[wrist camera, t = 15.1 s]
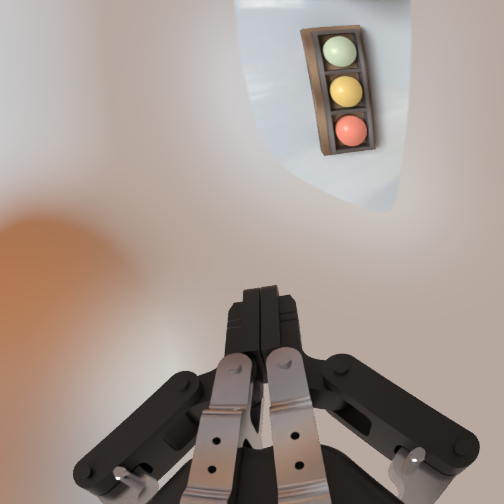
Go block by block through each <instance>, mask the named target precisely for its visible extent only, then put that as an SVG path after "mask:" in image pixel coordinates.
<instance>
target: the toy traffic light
mask: <svg viewBox="0 0 504 504" xmlns="http://www.w3.org/2000/svg"><path fill="white" fill-rule="evenodd" d="M300 33H301V37H302V42H303V47H304V52H305V57H306V62H307V67H308V73H309V78H310V84H311V89H312V95H313V101H314V107H315V113H316V120H317V126H318V133H319V140H320V147H321V152H322V153H323V155H324V156H326V155H333V154H340V153H348V152H356V151H364V150H373V149H376V147H375V134H374V122H373V112H372V103H371V94H370V86H369V78H368V71H367V65H366V58H365V52H364V46H363V40H362V35H361V29H360V25H350V26H332V27H319V28H308V29H302V30H300ZM337 36H341V37H345V38H347V39H349V40H350V41H351V42H352V43H353V44H354V46H355V48H356V58H355V60H354V61H353V63H351V64H350V65H348V66H345V67H339V66H333V65H331V64H329V63H328V62H326V60H325V59H324V58H323V55H322V45H323V44H324V42H325V41H326V40H328V39H329V38H332V37H337ZM337 76H348V77H352V78H354V79H356V80H357V81H358V82H359V83H360V85H361V87H362V98H361V100H360V101H359V102H358V103H357V104H356V105H354V106H352V107H344V106H341V105H339V104H337V103H336V102H334V101H333V100H332V99H331V97H330V95H329V91H328V88H329V84H330V82H331V81H332V80H333V79H334V78H335V77H337ZM345 114H352V115H355V116H356V117H358V118H359V119H361V120H362V121H363V122H364V123H365V125H366V128H367V135H366V138H365V139H364V141H363V142H362V143H360V144H359V145H356V146H348V145H345V144H344V143H342V142H341V141H340V140H339V139H338V137H337V136H336V134H335V132H334V125H335V122H336V120H337V119H338V118H339V117H340V116H342V115H345Z"/></svg>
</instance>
